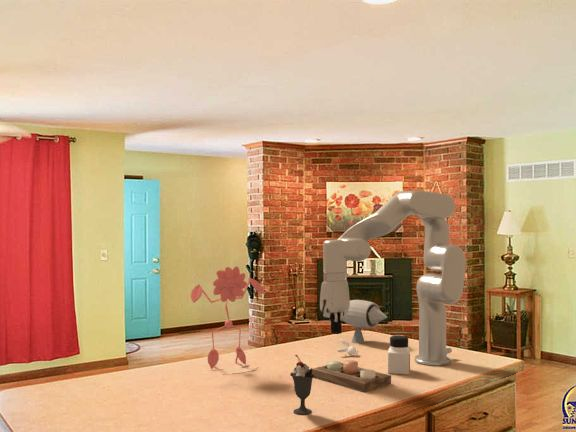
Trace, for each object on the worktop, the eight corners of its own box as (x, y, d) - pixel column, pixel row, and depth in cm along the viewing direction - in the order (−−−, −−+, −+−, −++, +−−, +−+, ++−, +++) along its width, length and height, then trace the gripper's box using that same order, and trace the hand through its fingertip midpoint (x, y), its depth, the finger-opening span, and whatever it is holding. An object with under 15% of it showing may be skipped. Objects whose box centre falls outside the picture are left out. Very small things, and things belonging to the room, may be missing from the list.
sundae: (288, 408, 156) (289, 352, 156) (313, 407, 157) (313, 352, 157) (291, 416, 150) (291, 358, 150) (316, 415, 150) (316, 358, 150)
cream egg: (366, 379, 181) (366, 368, 181) (378, 382, 178) (378, 371, 178) (357, 382, 178) (357, 371, 178) (368, 385, 175) (368, 374, 175)
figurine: (186, 366, 198) (188, 265, 198) (256, 359, 209) (257, 263, 208) (199, 379, 184) (201, 270, 184) (273, 370, 195) (275, 268, 195)
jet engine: (355, 349, 226) (355, 304, 226) (336, 338, 245) (336, 297, 245) (389, 347, 230) (389, 303, 230) (368, 336, 250) (368, 296, 250)
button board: (338, 369, 196) (338, 362, 196) (391, 383, 179) (391, 375, 179) (311, 376, 187) (311, 368, 187) (364, 392, 171) (364, 383, 171)
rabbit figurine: (357, 358, 212) (337, 347, 213) (353, 363, 215) (334, 353, 216) (361, 346, 217) (342, 336, 218) (357, 352, 219) (338, 342, 220)
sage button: (334, 370, 191) (334, 360, 191) (344, 373, 188) (344, 362, 188) (324, 373, 188) (324, 362, 188) (334, 376, 185) (334, 365, 185)
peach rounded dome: (349, 370, 186) (350, 359, 186) (360, 373, 183) (360, 362, 183) (340, 372, 183) (340, 361, 183) (351, 375, 180) (351, 364, 180)
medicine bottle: (409, 375, 189) (410, 338, 189) (387, 373, 191) (388, 337, 191) (409, 369, 196) (409, 334, 196) (388, 368, 198) (388, 333, 198)
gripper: (341, 274, 196) (343, 328, 196) (310, 278, 186) (312, 335, 186) (358, 276, 191) (359, 331, 191) (327, 280, 180) (328, 338, 181)
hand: (336, 333), depth 189 cm, fingers closed
